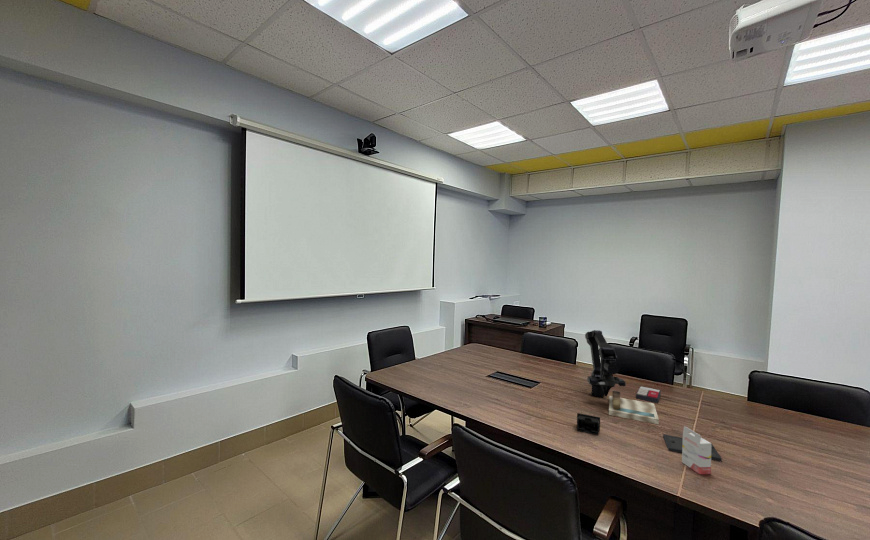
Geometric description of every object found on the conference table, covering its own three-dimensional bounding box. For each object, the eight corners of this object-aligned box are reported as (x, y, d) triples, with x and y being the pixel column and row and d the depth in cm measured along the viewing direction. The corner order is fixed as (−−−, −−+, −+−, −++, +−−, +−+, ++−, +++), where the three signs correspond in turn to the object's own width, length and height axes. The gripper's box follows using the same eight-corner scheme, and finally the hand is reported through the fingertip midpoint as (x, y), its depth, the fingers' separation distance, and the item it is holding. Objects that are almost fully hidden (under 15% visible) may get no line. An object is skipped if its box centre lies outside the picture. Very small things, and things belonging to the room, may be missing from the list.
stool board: (608, 414, 179) (608, 409, 179) (609, 400, 199) (609, 395, 199) (658, 424, 169) (658, 419, 169) (653, 408, 189) (653, 403, 189)
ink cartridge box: (711, 474, 128) (713, 435, 128) (699, 475, 128) (700, 435, 127) (692, 461, 136) (693, 425, 136) (681, 461, 136) (682, 425, 136)
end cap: (599, 429, 163) (600, 415, 163) (599, 435, 156) (600, 421, 156) (577, 424, 167) (577, 410, 167) (576, 430, 161) (576, 416, 161)
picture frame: (711, 447, 149) (663, 438, 156) (711, 442, 149) (663, 433, 156) (721, 463, 137) (668, 452, 144) (721, 457, 137) (668, 447, 144)
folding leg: (620, 410, 178) (620, 401, 178) (612, 408, 180) (612, 400, 180) (619, 398, 195) (620, 390, 195) (612, 397, 197) (612, 389, 197)
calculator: (636, 393, 203) (639, 385, 214) (635, 400, 203) (639, 391, 215) (657, 397, 196) (660, 389, 208) (657, 405, 196) (660, 396, 208)
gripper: (593, 371, 186) (592, 400, 187) (629, 374, 183) (629, 403, 184) (587, 366, 197) (586, 393, 198) (622, 368, 194) (621, 395, 195)
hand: (605, 396), depth 193 cm, fingers closed
